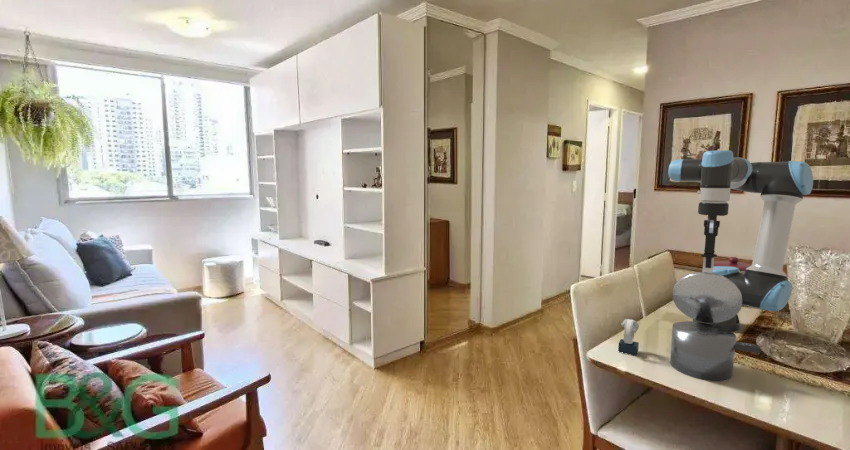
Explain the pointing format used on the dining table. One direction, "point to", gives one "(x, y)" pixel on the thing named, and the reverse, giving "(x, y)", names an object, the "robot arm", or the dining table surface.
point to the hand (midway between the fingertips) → (707, 277)
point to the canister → (733, 264)
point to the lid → (707, 297)
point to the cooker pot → (705, 350)
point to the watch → (629, 338)
